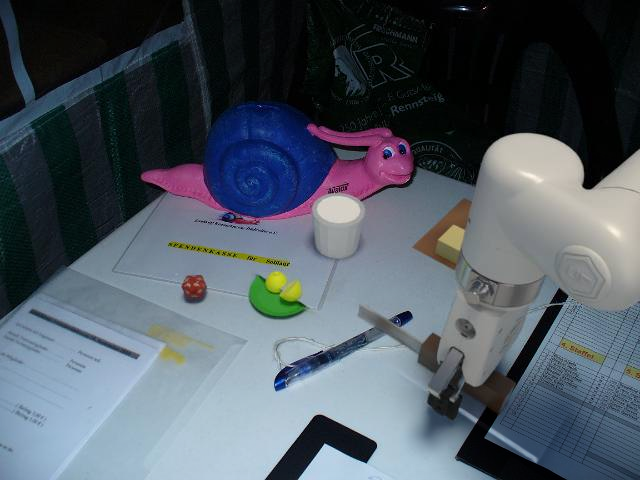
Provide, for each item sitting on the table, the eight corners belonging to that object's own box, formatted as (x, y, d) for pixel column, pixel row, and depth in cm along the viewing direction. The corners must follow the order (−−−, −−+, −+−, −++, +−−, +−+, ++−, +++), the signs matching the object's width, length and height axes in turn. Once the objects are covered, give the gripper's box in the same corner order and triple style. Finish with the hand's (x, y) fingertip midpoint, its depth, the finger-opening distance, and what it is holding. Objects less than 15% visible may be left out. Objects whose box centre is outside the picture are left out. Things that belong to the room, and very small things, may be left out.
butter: (489, 258, 78) (494, 244, 77) (474, 274, 76) (478, 260, 74) (450, 237, 81) (453, 224, 80) (434, 253, 79) (437, 239, 77)
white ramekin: (349, 227, 84) (352, 187, 79) (370, 259, 79) (374, 219, 75) (304, 238, 82) (304, 198, 77) (322, 272, 77) (323, 231, 73)
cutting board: (538, 238, 83) (540, 233, 82) (490, 295, 75) (492, 290, 74) (462, 202, 88) (464, 197, 88) (410, 252, 80) (411, 247, 80)
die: (188, 284, 75) (185, 267, 73) (211, 288, 75) (209, 271, 73) (179, 301, 73) (176, 284, 71) (203, 305, 73) (200, 289, 71)
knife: (507, 403, 64) (516, 382, 61) (496, 419, 62) (505, 398, 59) (364, 314, 72) (366, 291, 70) (352, 325, 71) (354, 303, 68)
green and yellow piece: (324, 284, 76) (325, 269, 74) (294, 328, 70) (293, 313, 69) (270, 263, 78) (269, 248, 76) (236, 304, 73) (235, 288, 71)
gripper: (492, 351, 46) (454, 459, 58) (580, 237, 56) (532, 349, 67) (410, 303, 49) (390, 414, 61) (506, 203, 59) (473, 315, 71)
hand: (464, 380), depth 64 cm, fingers open, 9 cm apart
